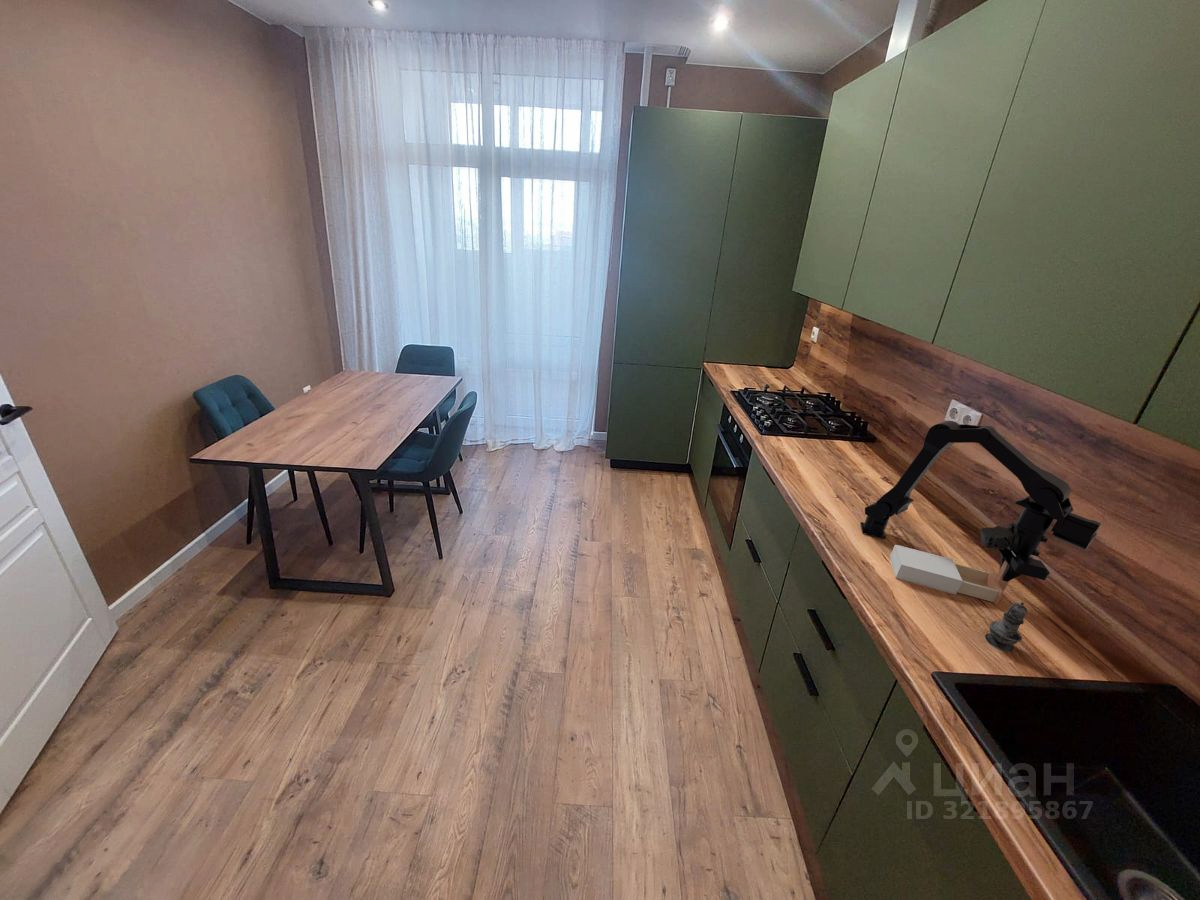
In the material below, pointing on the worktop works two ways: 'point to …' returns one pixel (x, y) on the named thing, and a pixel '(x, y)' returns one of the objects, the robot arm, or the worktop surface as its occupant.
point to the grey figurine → (1007, 628)
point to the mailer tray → (982, 583)
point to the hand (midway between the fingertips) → (1003, 578)
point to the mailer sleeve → (925, 569)
